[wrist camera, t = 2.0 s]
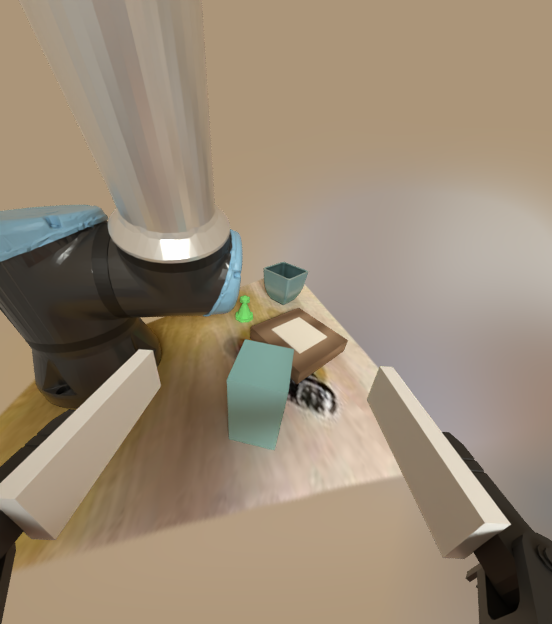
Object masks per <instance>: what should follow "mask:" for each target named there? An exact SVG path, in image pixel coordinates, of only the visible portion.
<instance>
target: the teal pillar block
mask: <svg viewBox="0 0 552 624" xmlns="http://www.w3.org/2000/svg"><path fill="white" fill-rule="evenodd" d="M293 354H294V349H290V348H286V347H281V346H276V345H271V344H266V343H261V342H256V341H251V340H246V339H245V341H244V343H243V345H242V347H241V350H240V352H239V354H238V356H237V358H236V361H235V363H234V365H233V367H232V369H231V371H230V374H229V376H228V378H227V400H228V426H229V439H231V440H235V441H239V442H243V443H247V444H251V445H255V446H259V447H263V448H267V449H271V450H275V446H276V442H277V438H278V434H279V429H280V425H281V421H282V417H283V413H284V409H285V404H286V400H287V396H288V391H289V384H290V376H291V369H292V362H293Z"/></svg>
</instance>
